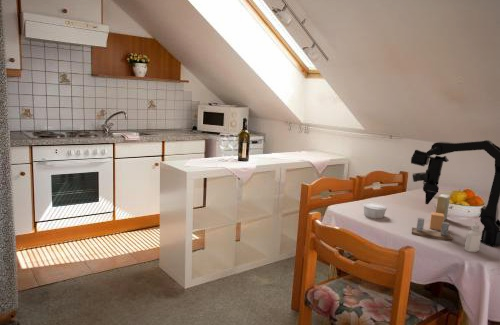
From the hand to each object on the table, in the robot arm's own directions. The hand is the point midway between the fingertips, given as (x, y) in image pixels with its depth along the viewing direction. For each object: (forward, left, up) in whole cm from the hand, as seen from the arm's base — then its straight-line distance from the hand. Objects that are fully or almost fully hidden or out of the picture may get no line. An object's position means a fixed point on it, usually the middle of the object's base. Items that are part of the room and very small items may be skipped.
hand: (426, 201), depth 188 cm
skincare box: (+8, -19, -13) cm, 24 cm away
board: (-10, +5, -12) cm, 17 cm away
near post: (-13, +2, -12) cm, 18 cm away
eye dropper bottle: (-28, +3, -13) cm, 31 cm away
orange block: (-2, -5, -12) cm, 14 cm away
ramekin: (+20, +13, -13) cm, 27 cm away
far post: (-6, +9, -12) cm, 16 cm away
